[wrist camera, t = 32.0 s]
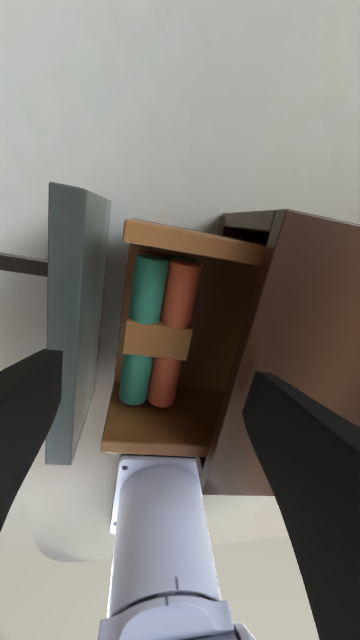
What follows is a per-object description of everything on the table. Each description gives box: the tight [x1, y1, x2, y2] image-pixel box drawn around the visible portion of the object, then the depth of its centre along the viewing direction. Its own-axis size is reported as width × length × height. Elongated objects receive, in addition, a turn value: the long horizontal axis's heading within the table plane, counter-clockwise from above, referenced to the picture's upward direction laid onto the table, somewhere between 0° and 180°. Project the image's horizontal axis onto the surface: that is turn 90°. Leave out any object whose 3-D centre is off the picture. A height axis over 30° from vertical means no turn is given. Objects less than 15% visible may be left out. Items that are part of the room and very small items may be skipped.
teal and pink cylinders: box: [119, 250, 202, 408], centre depth 15 cm, size 8×3×3 cm, turn 170°
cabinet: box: [195, 209, 360, 496], centre depth 16 cm, size 14×14×8 cm
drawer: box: [0, 182, 267, 466], centre depth 14 cm, size 17×12×6 cm
